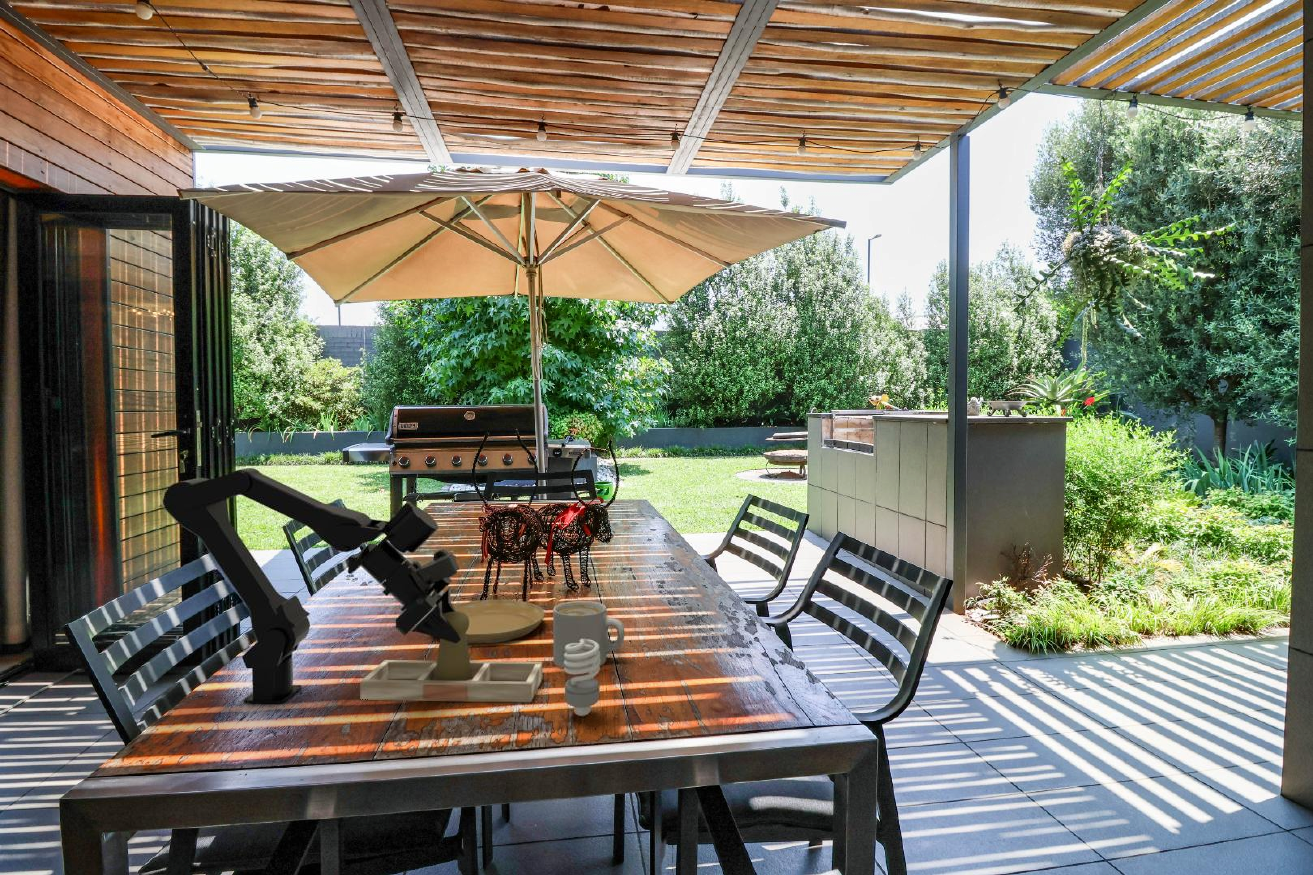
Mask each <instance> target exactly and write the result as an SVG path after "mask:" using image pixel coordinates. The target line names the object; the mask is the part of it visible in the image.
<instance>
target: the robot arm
mask: <svg viewBox="0 0 1313 875" xmlns="http://www.w3.org/2000/svg"><path fill="white" fill-rule="evenodd" d="M239 495H240V496H242V497H245V498H247V499H249V500H251V501H253V502H256V503H258V504H260V505H262V506H264V507H266V508H268V509H271V510H273V511H275V512H277V513H279V514H281V515H283V516H286V517H287V518H289V519H292V520H294V521H295V522H298V523H300V524H303V525H304V526H306V527H308V528H309V529H310V530H312V531H313V532H314V533H315V534H316V536H317V537H318V538H319V539H320V540H322V541H323V542H324V543H326V544H327V545H328V546H330V547H332V548H333V549H334V550H336V551H338V552H342V553H343V552H344V553H348V552H352V551H355V550H357V549H358V548H360V547H361V546H363V545H365V544H366V543H368V544H367V545H366V547H365V548H363V550H361V551H360V552H359V553H358V554H351V555H349V556H348V557H347V560H348V567H347V573H348V574H349V575H351V574H354V572H356V571H357V570H358V569H360V568H362V569H363V570H364V571H365V572H367V573H368V574H369V575H370V576H371V578H373V579H374V580H375V581H376V582H377V583H378V584H379V585H380V586H382V587H383V591H382V594H384V595H385V596H386V597H388V596H389V595H391V596H392V597H393V598H394V599H395V600H396V601H397V602H398V603H399V604H401V605H402V607H401V608H400V611H401V612H400V614H399V615H398V616H397V617H396V619H395V628H396V629H397V630H398V631H399V632H400V633H401V634H402V635H403V636H404V637H405V636H406V635H407V634H408V633H409V632H413V633H415V632H416V633H420V634H424V635H428V636H431V637H434V638H438V639H439V640H440V639H444V640H447V641H450V642H453V643H458V642H459V641H460V640H461V637H460V636H459V635H458V633H457V632H456V630H455V629H454V628H453V627H452V625H451V624H450V623H449V622H448V620H447V619H446V618H445V616H444V615H443V614H445V613H448V612H456V610H455V609H454V607H453V603H452V602H451V591H452V587H451V586H450V587H449V585H450V584H451V583H452V582H453V580H452V579H451V578H450V577H453V576H455V575H456V574H458V571H459V570H460V567H459V564H458V563H457V556H456V555H454V554H453V551H450V552H448V551H446V549H444V548H441V549H439V550H437V551H436V552H434V553H433V560H430V561H429V562H427V563H426V564H423V565H421V564H420V562H418V561H415V560H413V561H412V562H410V561H409V559H407V558H406V557H405V556H404V555H403V554H405V553H406V552H408V553H412V554H414V553H415V552H416V551H417V550H418V549H420V547H421V546H422V545H424V544H425V543H426V542H427V541H428V539H430V538H431V537H432V536H433V535H434V534H435V533H436V532H437V531H438V530H439V525H438V523H437V522H436V520H435V519H434V518H433V517H432V515H430V514H429V512H427V511H424V510H423V509H421V508H420V507H419V506H415V505H414V504H413V503H412V502H411V501H407V502H406V503H404V504H403V505H402V506H401V507H400V509H399V510H398V512H397V513H396V514H394V515H393V517H391V519H390V520H381V519H373V518H371V517H370V516H369V515H367V514H366V513H364V512H362V511H358V510H354V509H351V508H347V507H343V506H338V505H331V504H327V503H325V502H322V501H320V500H317V499H315V498H313V497H312V496H309V495H307V494H306V493H303V492H300V491H298V489H294V488H293V487H290V486H288V485H287V484H285V483H282V482H281V481H278V480H276V479H274V478H272V477H270V476H267V475H265V474H263V473H262V472H261V471H259V470H258V469H256V468H254V467H246V468H241V469H237V470H233V471H232V472H230V473H228V474H225V475H221V476H217V477H214V478H211V479H209V478H206V477H197V478H193V479H187V480H183V481H177V482H175V483H172V484H171V485H170V486H169V487H167V489H166V490H165V492H164V496H163V498H162V504H163V507H164V509H165V511H166V512H167V513H168V514H169V515H170V516H171V517H172V518H173V519H174V520H175V521H176V522H177V523H178V524H179V525H180V526H181V527H182V528H184V529H186V530H188V531H189V532H191V533H192V534H194V535H196V537H198V538H199V539H200V540H201V542H202V543H203V544H204V546H205V547H206V549H207V551H208V552H209V553H210V555H211V556H212V557H213V559H214V561H215V562H216V564H217V565H218V567H219V568H220V570H221V571H222V573H223V574H224V575H225V577H226V578H227V579H228V581H229V582H230V584H231V585H232V587H233V589H234V590H235V592H236V593H237V594H238V596H239V597H240V599H241V600H242V602H243V603H244V605H245V606H246V607H247V609H248V612H249V616H250V624H251V631H252V633H253V635H254V637H255V639H256V641H257V642H255V643H254V644H253V645H252V646H251V647H250V648H249V649H248V650H246V652H245V653H244V654H243V655H242V656H241V659H242V661H243V663H244V666H245V668H246V669H251V675H252V676H251V678H252V680H251V681H252V687H251V688H252V693H250V694H249V695H247V696H246V697H244V698H243V701H242V702H243V703H246V704H282V703H284V702H286V701H288V699H290V698H291V697H292V696H294V695H295V694H296V693H297V692H299V691H301V689H302V688H303V686H302V685H301V684H293V683H294V670H293V668H294V667H293V666H294V665H293V653H294V652H295V651H297V650H298V647H299V645H300V643H301V642H302V641H303V640H305V638H306V637H307V636H308V634H309V631H310V627H311V623H310V622H311V621H310V620H309V618H308V616H310V615H311V613H310V612H309V611H307V610H306V609H305V608H304V607H303V605H302V603H301V601H300V599H299V597H298V596H297V595H293V596H291V597H290V598H286V597H285V596H283V595H281V594H279V592H278V591H277V590H276V588H275V587H274V586H273V584H272V582H271V581H270V580H269V578H268V577H267V575H266V574H265V572H264V570H263V569H262V568H261V567H260V564H258V562H257V560H256V559H255V558H254V556H253V554H252V553H251V552H250V550H249V548H248V547H247V545H246V544H245V543H244V541H243V539H242V538H241V537H240V536H239V534H238V532H237V531H236V530H235V528H234V526H233V525H232V524H231V521H230V518H229V517H230V516H229V510H228V509H229V508H228V504H227V500H228V499H231V498H234V497H237V496H239ZM383 535H385V537H383V539H382V540H381V541H379V543H377V544H376V543H372V542H373V541H375V540H376V539H378V538H379V537H382V536H383ZM402 553H403V554H402ZM447 587H448V588H447ZM445 588H447V589H446V590H445V591H444V589H445Z"/></svg>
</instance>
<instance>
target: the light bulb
mask: <svg viewBox="0 0 1313 875" xmlns="http://www.w3.org/2000/svg"><path fill="white" fill-rule="evenodd" d="M579 642H580V643H572V644H568V645H566V646H565V650H566V651H567V652H566V653H565V654H564V657H565V658H566V659H565V660H564V665H565V666H566V667H565V669H564V668H563V669H564V670H563V671H564V672H565V673H566V674H569V675H576V676H573V677H571V678H570V679H568V680H567V681H566V682H565V684H564V695H565V697H564V698H565V702H566V704H567V705H569V706H571V707H573V711H574V712H573V713H575V714H576V715H577V716H579V717H580V718H581V717H585V716H587V715H588V714H590V712H591V707H592V706H594V705H596V704H597V703H598V702H599V697H600V682H599V680H598V679H597V678H595V676H596V675H597V674H599V672H600V669H601V667H600V666H599V665H600V662H601V661H600V658H599V657H600V652H599V644H598V643H597V642H595V641H593V640H590V639H581V640H580V641H579ZM588 644H589V645H588ZM591 645H592V646H591ZM581 648H584V649H588V650H591V651H583V650H579V649H581ZM588 657H591V659H588ZM587 665H592V666H587ZM582 674H584V675H582ZM577 675H578V676H577Z"/></svg>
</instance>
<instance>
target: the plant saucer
mask: <svg viewBox="0 0 1313 875" xmlns="http://www.w3.org/2000/svg"><path fill="white" fill-rule="evenodd" d="M452 605H453V604H452ZM453 607H454V609H455V610H456V612H463V613H465V614H466V615H467V616H468V618H469V627H468V630H467V631H466V637H467V644H468V645H483V644H484V645H485V644H494V643H495V644H497V643H503V642H509V641H512V640H517V639H519V638H522V637H525V636H526V635H528V634H530V633H531V632H532V631H534V630H535V629H536V628H538V626H540V624H541V622H542V621H543V619H544V617H545V610H544V609H543V608H542V607H541V606H539V605H538V604H534V603H532V602H527V601H521V600H515V599H514V600H512V599H486V600H485V599H484V600H475V601H474V600H473V601H467V602H461V603H458V604H454V605H453Z"/></svg>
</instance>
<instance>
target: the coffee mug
mask: <svg viewBox="0 0 1313 875" xmlns="http://www.w3.org/2000/svg"><path fill="white" fill-rule="evenodd" d="M552 614H553V617H552V619H553V622H552V624H553V626H552V627H553V630H552V631H553V634H552V635H553V643H552V644H553V645H552V646H553V647H552V648H553V664H554V665H555V666H557V667H559V668H561V669H565V667H566V666H565V665H564V660H565V659H566V658H565V657H564V654H565V653H566V652H567V651H566V650H565V646H566V645H568V644H572V643H580V642H579V641H580V640H581V639H590V640H593V641H595V642H597V643H598V644H599V652H600V657H599V658H600V661H601V662H600V665H599V666H602V665H604V664H605V663H606V662H607V655H608V653H610V652H612V651H615V650H617V649H619V648H620V647H621V646H622V645H623V643H624V641H625V627H624V624H623V623H622V621H621V620H619V619H617V618H614V617H610V616H609V617H608V616H607V607H606V605H605V604H603V603H600V602H596V601H592V600H591V601H590V600H577V601H575V600H573V601H568V602H567V601H566V602H562V603H559V604H558V605H555V606H554V607H553V613H552ZM609 627H615V630H616V632H617V638H616V640H615V641H611V640H610V638H609V634H608V629H609ZM588 645H589V644H588ZM591 646H592V645H591ZM579 650H583V651H591V650H588V649H584V648H581V649H579ZM588 659H591V657H588ZM587 666H592V665H587Z"/></svg>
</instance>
